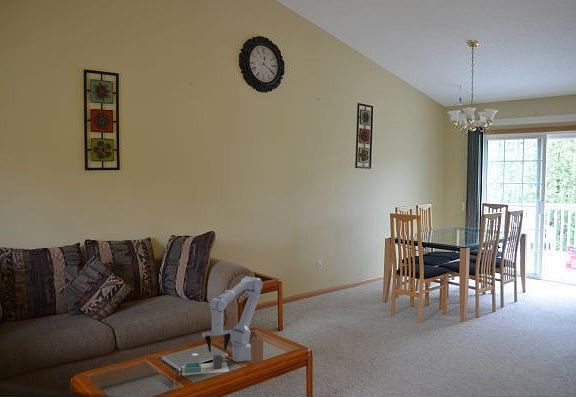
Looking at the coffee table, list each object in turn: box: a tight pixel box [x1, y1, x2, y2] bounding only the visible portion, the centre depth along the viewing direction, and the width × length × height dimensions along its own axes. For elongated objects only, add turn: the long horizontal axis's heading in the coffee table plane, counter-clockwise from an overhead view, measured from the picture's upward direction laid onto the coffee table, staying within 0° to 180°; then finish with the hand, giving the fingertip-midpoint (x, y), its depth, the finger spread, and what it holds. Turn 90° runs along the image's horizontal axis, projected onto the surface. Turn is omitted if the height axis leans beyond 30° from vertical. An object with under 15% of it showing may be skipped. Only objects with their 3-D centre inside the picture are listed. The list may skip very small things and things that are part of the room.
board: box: [181, 361, 230, 376], centre depth 230 cm, size 22×13×3 cm, turn 103°
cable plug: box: [212, 354, 223, 369], centre depth 231 cm, size 4×4×6 cm
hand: (217, 350), depth 231 cm, fingers open, 7 cm apart
